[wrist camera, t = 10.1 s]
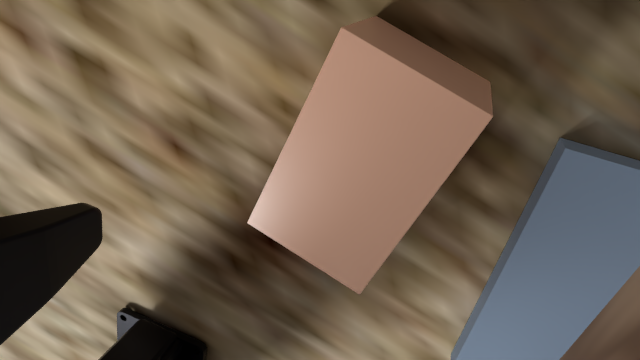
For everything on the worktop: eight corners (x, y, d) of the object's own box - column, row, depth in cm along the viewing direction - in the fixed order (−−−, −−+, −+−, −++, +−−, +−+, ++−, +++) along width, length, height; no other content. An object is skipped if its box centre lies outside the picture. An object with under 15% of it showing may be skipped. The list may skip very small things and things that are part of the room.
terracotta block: (385, 228, 21) (359, 294, 16) (295, 173, 21) (247, 222, 17) (490, 80, 17) (493, 116, 12) (377, 15, 17) (341, 27, 13)
